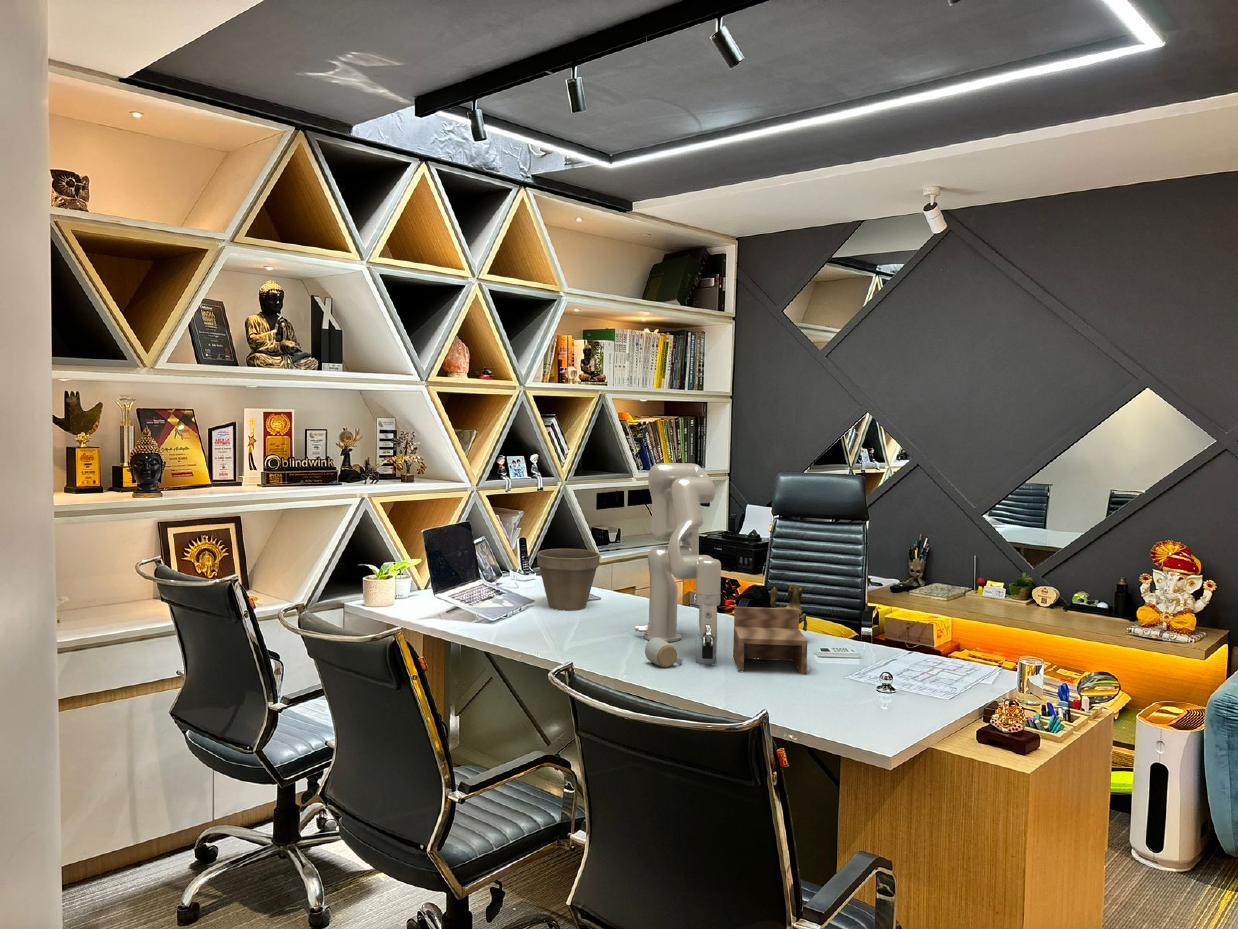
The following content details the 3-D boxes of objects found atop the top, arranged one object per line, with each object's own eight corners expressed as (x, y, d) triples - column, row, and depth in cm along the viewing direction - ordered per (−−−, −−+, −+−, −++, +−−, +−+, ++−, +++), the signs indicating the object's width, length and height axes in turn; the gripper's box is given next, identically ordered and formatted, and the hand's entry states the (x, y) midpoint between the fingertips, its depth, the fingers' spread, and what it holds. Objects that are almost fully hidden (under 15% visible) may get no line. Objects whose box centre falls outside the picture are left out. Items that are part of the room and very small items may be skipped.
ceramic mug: (657, 669, 268) (658, 643, 268) (643, 663, 276) (644, 637, 275) (687, 666, 273) (688, 641, 273) (673, 660, 281) (674, 635, 280)
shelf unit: (738, 671, 268) (740, 618, 268) (733, 657, 286) (734, 606, 285) (806, 674, 267) (808, 620, 267) (796, 659, 285) (798, 608, 284)
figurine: (817, 642, 309) (819, 583, 309) (774, 653, 292) (776, 591, 291) (786, 635, 319) (788, 578, 318) (742, 646, 301) (744, 585, 300)
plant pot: (587, 616, 343) (588, 558, 342) (526, 610, 350) (527, 554, 349) (606, 604, 367) (607, 550, 366) (549, 599, 374) (550, 547, 373)
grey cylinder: (695, 664, 275) (696, 638, 275) (694, 659, 282) (695, 633, 281) (716, 665, 275) (717, 639, 275) (715, 660, 282) (716, 634, 281)
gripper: (722, 604, 269) (720, 662, 269) (718, 594, 286) (716, 648, 287) (696, 604, 269) (695, 661, 270) (694, 594, 286) (692, 648, 287)
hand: (706, 654), depth 278 cm, fingers open, 9 cm apart
